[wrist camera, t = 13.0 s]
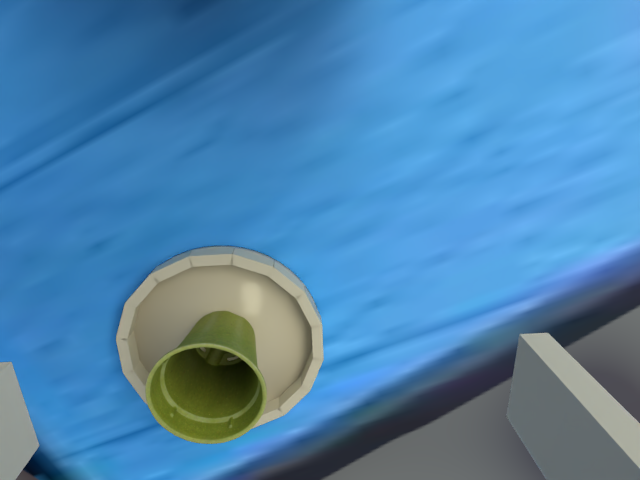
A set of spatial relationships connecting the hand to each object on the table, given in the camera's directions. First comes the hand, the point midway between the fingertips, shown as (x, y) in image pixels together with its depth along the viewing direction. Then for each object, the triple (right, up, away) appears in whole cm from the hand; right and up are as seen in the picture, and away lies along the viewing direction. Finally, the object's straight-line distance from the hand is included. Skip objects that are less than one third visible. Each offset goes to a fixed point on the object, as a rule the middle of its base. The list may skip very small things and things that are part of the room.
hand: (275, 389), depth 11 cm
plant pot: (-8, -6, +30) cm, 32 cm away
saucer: (-8, -6, +31) cm, 33 cm away
